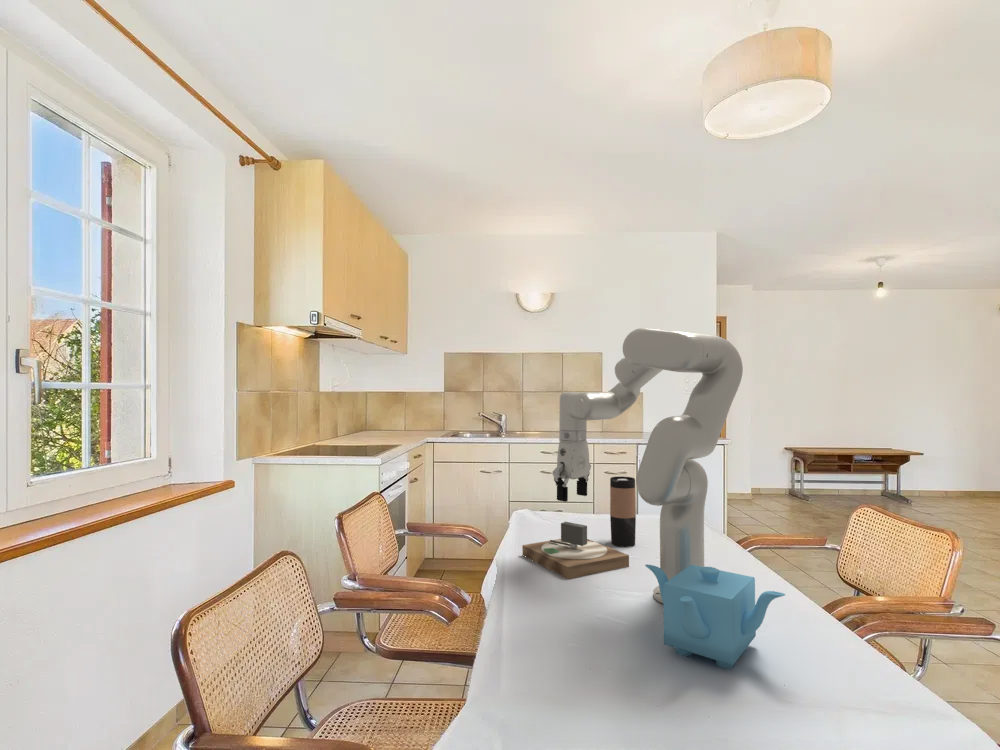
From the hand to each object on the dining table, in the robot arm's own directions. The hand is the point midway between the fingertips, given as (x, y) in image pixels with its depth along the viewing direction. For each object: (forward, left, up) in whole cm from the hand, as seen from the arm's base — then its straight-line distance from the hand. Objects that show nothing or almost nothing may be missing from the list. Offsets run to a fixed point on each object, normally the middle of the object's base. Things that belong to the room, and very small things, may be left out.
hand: (572, 497), depth 151 cm
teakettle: (-55, +10, -18) cm, 58 cm away
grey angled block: (+2, +1, -13) cm, 14 cm away
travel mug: (+5, -23, -17) cm, 29 cm away
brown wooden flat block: (-1, 0, -17) cm, 17 cm away
